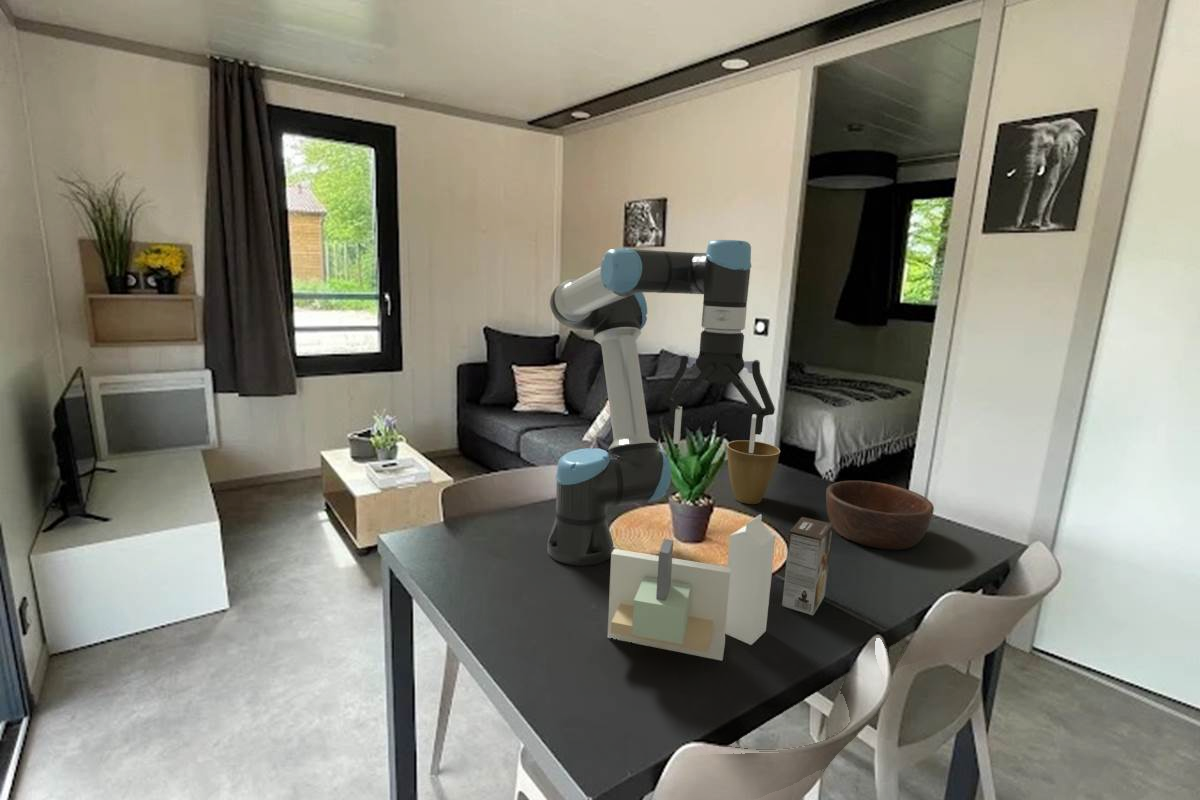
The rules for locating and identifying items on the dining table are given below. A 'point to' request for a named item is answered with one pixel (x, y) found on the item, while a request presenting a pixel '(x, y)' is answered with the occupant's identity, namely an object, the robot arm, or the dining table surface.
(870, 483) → the wooden bowl
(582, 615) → the dining table surface
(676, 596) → the green block with handle
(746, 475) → the plant pot
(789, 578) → the coffee box
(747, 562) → the milk
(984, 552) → the dining table surface
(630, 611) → the wall board
